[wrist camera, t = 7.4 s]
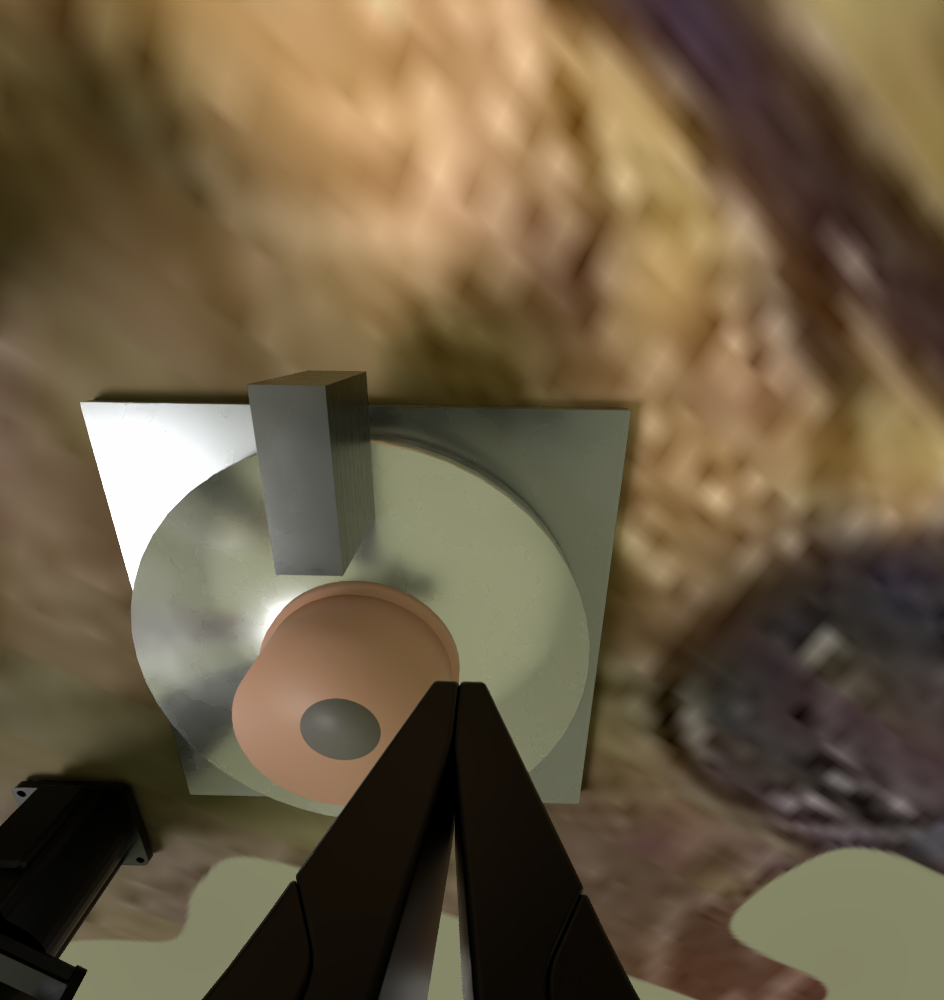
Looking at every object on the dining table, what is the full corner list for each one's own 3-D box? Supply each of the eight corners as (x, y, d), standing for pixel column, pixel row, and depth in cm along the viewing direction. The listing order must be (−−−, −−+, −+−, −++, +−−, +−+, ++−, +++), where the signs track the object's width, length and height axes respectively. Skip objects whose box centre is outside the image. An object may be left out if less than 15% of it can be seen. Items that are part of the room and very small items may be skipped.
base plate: (576, 793, 26) (578, 803, 26) (196, 784, 26) (190, 794, 26) (626, 408, 19) (631, 410, 18) (91, 399, 19) (79, 402, 18)
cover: (460, 739, 22) (457, 813, 18) (280, 737, 22) (245, 809, 18) (458, 581, 19) (454, 634, 15) (250, 579, 19) (201, 632, 15)
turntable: (562, 796, 25) (587, 933, 19) (200, 787, 25) (119, 920, 19) (613, 372, 17) (679, 392, 12) (88, 363, 17) (-103, 378, 12)
